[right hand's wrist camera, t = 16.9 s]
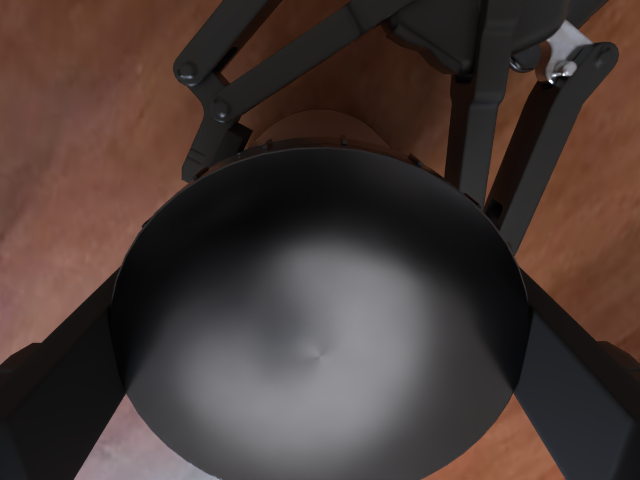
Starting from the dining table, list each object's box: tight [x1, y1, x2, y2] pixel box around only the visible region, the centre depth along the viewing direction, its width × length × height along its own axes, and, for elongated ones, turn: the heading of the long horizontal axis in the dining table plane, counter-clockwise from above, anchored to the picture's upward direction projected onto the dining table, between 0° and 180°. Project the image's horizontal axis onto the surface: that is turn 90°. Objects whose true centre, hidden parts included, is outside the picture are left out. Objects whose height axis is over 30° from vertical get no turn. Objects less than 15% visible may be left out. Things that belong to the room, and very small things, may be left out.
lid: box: [109, 134, 530, 480], centre depth 12 cm, size 11×11×2 cm
